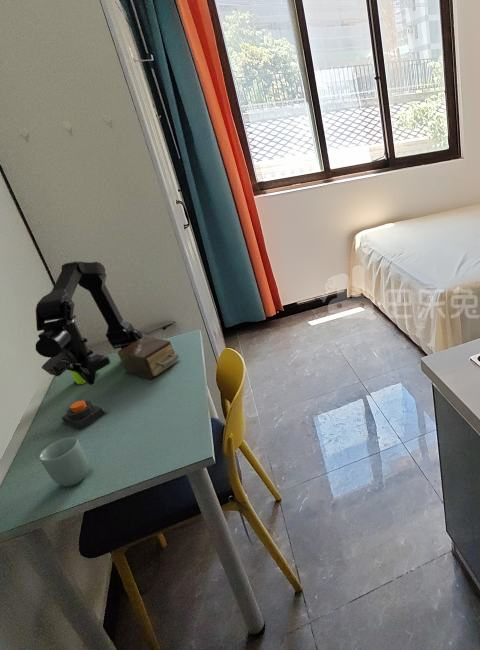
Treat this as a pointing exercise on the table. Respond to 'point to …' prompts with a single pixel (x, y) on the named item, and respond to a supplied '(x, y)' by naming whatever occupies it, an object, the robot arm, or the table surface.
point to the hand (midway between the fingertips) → (91, 384)
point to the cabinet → (141, 355)
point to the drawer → (162, 360)
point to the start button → (78, 406)
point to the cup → (65, 461)
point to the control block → (83, 415)
